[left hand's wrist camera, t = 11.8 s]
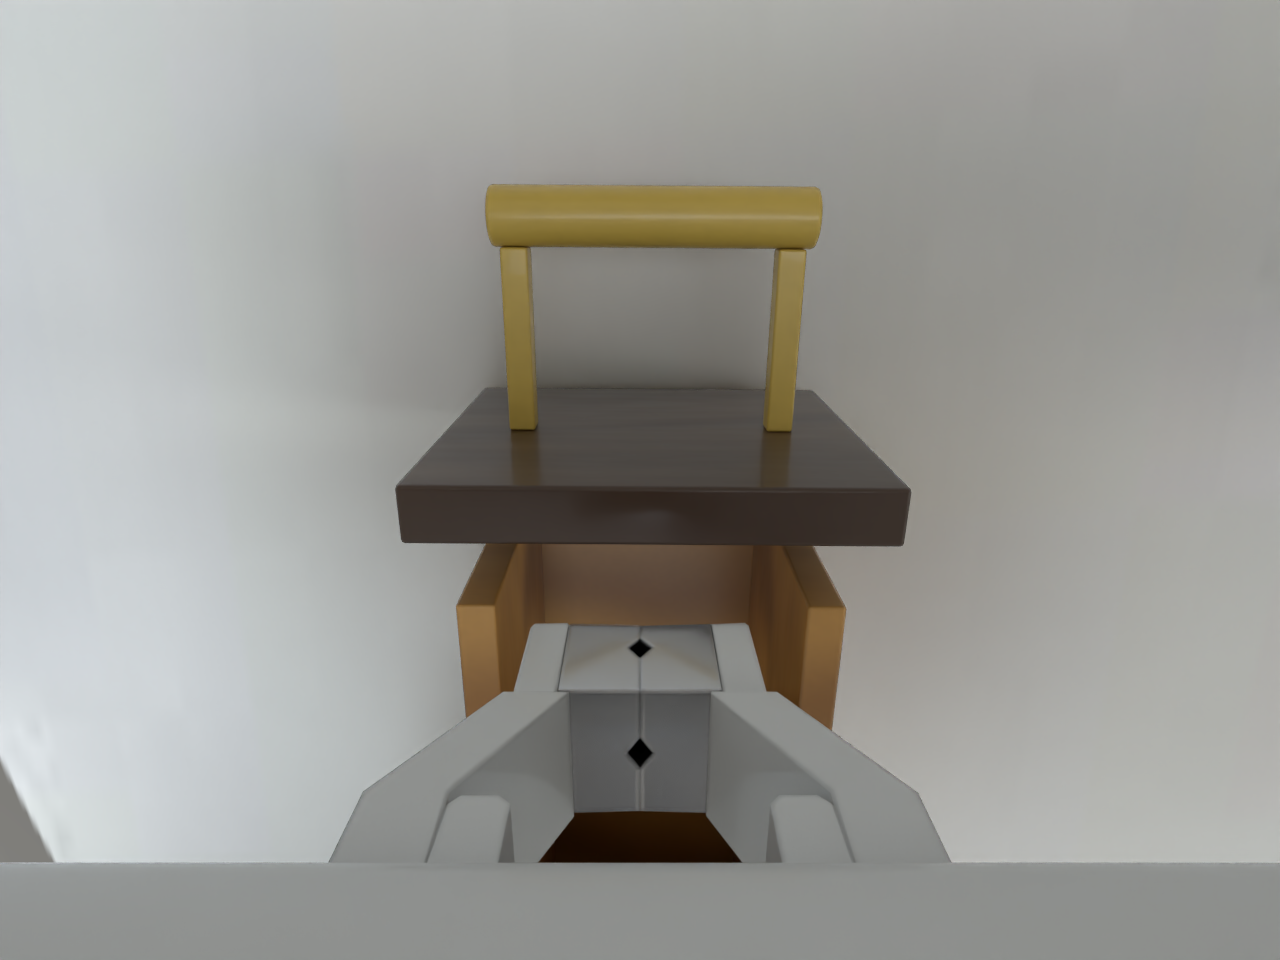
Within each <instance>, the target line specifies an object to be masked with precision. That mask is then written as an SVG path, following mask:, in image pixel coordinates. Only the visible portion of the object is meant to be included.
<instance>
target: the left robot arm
mask: <svg viewBox="0 0 1280 960" xmlns="http://www.w3.org/2000/svg"><path fill="white" fill-rule="evenodd" d="M619 811H660V812H696V813H706V816H707V818H708V819H709V820H710V822H711V823H712V824H713V825H714V827H715V828H716V829H717V831H718V832H719V833H720V834H721V836H722V837H723V838H724V840H725V841H726V842H727V843H728V845H729V846H730V847H731V849H732V850H733V851H734V852H735V854H736V855H737V856H738V858H739V859H740V860H741V861H742V863H538V862H539V861H540V859H541V858H542V857H543V856H544V854H545V853H546V852H547V850H548V849H549V848H550V847H551V845H552V844H553V843H554V842H555V840H556V839H557V838H558V836H559V835H560V834H561V833H562V831H563V830H564V829H565V827H566V826H567V825H568V824H569V822H570V821H571V820H572V819H573V817H574V813H584V812H619ZM0 960H1280V863H952V862H951V860H950V858H949V856H948V854H947V852H946V850H945V848H944V846H943V844H942V842H941V840H940V838H939V835H938V833H937V831H936V829H935V827H934V825H933V823H932V821H931V819H930V817H929V815H928V813H927V811H926V808H925V806H924V804H923V802H922V800H921V798H920V796H919V794H918V793H917V792H916V791H915V790H913V789H912V788H910V787H909V786H908V785H906V784H905V783H903V782H902V781H901V780H899V779H898V778H896V777H895V776H894V775H892V774H891V773H890V772H888V771H887V770H885V769H884V768H883V767H881V766H880V765H878V764H877V763H876V762H874V761H873V760H871V759H870V758H869V757H867V756H866V755H864V754H863V753H862V752H860V751H859V750H857V749H856V748H855V747H853V746H852V745H850V744H849V743H848V742H846V741H845V740H844V739H842V738H841V737H839V736H838V735H837V734H835V733H834V732H832V731H831V730H830V729H828V728H827V727H825V726H824V725H823V724H821V723H820V722H818V721H817V720H816V719H814V718H813V717H811V716H810V715H809V714H807V713H806V712H804V711H803V710H802V709H800V708H799V707H798V706H796V705H795V704H793V703H792V702H791V701H789V700H788V699H786V698H785V697H784V696H782V695H781V694H779V693H778V692H766V688H765V684H764V681H763V677H762V673H761V670H760V666H759V662H758V658H757V655H756V651H755V647H754V644H753V640H752V636H751V633H750V629H749V626H748V625H747V624H746V623H727V624H691V625H651V626H640V625H616V624H570V625H569V624H568V623H541V624H534V625H533V626H532V627H531V628H530V632H529V636H528V639H527V643H526V647H525V651H524V654H523V658H522V662H521V665H520V669H519V673H518V677H517V680H516V684H515V688H514V692H502V693H501V694H499V695H498V696H496V697H495V698H494V699H492V700H491V701H489V702H488V703H487V704H485V705H484V706H482V707H481V708H480V709H478V710H477V711H475V712H474V713H473V714H471V715H470V716H468V717H467V718H466V719H464V720H463V721H461V722H460V723H459V724H457V725H456V726H454V727H453V728H452V729H450V730H449V731H447V732H446V733H445V734H443V735H442V736H440V737H439V738H438V739H436V740H435V741H433V742H432V743H431V744H429V745H428V746H426V747H425V748H424V749H422V750H421V751H419V752H418V753H417V754H415V755H414V756H412V757H411V758H410V759H408V760H407V761H405V762H404V763H403V764H401V765H400V766H398V767H397V768H396V769H394V770H393V771H391V772H390V773H389V774H387V775H386V776H384V777H383V778H382V779H380V780H379V781H377V782H376V783H375V784H373V785H372V786H370V787H369V788H368V789H366V790H365V791H363V793H362V795H361V797H360V799H359V801H358V803H357V805H356V807H355V809H354V811H353V813H352V815H351V817H350V819H349V821H348V823H347V826H346V828H345V830H344V832H343V834H342V836H341V838H340V840H339V842H338V844H337V846H336V848H335V850H334V852H333V854H332V856H331V858H330V860H329V862H328V863H0Z"/></svg>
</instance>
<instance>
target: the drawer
mask: <svg viewBox="0 0 1280 960" xmlns="http://www.w3.org/2000/svg"><path fill="white" fill-rule="evenodd" d="M822 211H823V205H822V196H821V192H820V189H819V188H817V187H783V186H655V185H527V184H492V185H490V186H488V189H487V192H486V199H485V216H486V226H487V232H488V236H489V239H490V242H491V244H492V245H493V246H496V247H501V248H500V264H501V282H502V299H503V317H504V335H505V352H506V370H507V388H485V389H484V390H483V391H482V392H481V393H480V394H479V396H478V397H477V398H476V399H475V400H474V401H473V402H472V403H471V404H470V405H469V406H468V408H467V409H466V410H465V411H464V412H463V413H462V414H461V415H460V416H459V417H458V419H457V420H456V421H455V422H454V423H453V424H452V425H451V426H450V427H449V428H448V429H447V431H446V432H445V433H444V434H443V435H442V436H441V437H440V438H439V439H438V440H437V441H436V443H435V444H434V445H433V446H432V447H431V448H430V449H429V450H428V451H427V452H426V454H425V455H424V456H423V457H422V458H421V459H420V460H419V461H418V462H417V463H416V464H415V466H414V467H413V468H412V469H411V470H410V471H409V472H408V473H407V474H406V475H405V477H404V478H403V479H402V480H401V481H400V482H399V483H398V484H397V485H396V488H395V490H396V499H397V508H398V516H399V525H400V534H401V540H402V542H404V543H484V544H485V546H484V548H483V550H482V552H481V554H480V557H479V559H478V561H477V563H476V565H475V567H474V569H473V571H472V573H471V575H470V578H469V580H468V582H467V584H466V586H465V588H464V590H463V592H462V594H461V596H460V599H459V601H458V603H457V605H456V613H457V624H458V635H459V646H460V657H461V668H462V679H463V690H464V701H465V712H466V718H467V717H468V716H470V715H471V714H473V713H474V712H475V711H477V710H478V709H480V708H481V707H482V706H484V705H485V704H487V703H488V702H489V701H491V700H492V699H494V698H495V697H496V696H498V695H499V694H501V693H502V692H514V688H515V684H516V680H517V677H518V673H519V669H520V665H521V662H522V658H523V654H524V651H525V647H526V643H527V639H528V636H529V632H530V628H531V627H532V626H533V625H534V624H541V623H568V624H569V625H570V624H616V625H640V626H651V625H691V624H727V623H746V624H747V625H748V626H749V629H750V633H751V636H752V640H753V644H754V647H755V651H756V655H757V658H758V662H759V666H760V670H761V673H762V677H763V681H764V684H765V688H766V692H778V693H779V694H781V695H782V696H784V697H785V698H786V699H788V700H789V701H791V702H792V703H793V704H795V705H796V706H798V707H799V708H800V709H802V710H803V711H804V712H806V713H807V714H809V715H810V716H811V717H813V718H814V719H816V720H817V721H818V722H820V723H821V724H823V725H824V726H825V727H827V728H828V729H830V730H831V731H832V725H833V716H834V708H835V700H836V691H837V683H838V675H839V666H840V658H841V650H842V641H843V633H844V624H845V616H846V607H845V605H844V603H843V602H842V600H841V598H840V596H839V594H838V592H837V590H836V588H835V586H834V584H833V583H832V581H831V579H830V577H829V575H828V573H827V571H826V569H825V567H824V565H823V564H822V562H821V560H820V558H819V556H818V554H817V552H816V550H815V548H814V546H903V544H904V539H905V532H906V525H907V518H908V511H909V504H910V497H911V490H910V488H909V487H908V486H907V485H906V484H905V483H904V482H903V481H902V480H901V479H900V478H899V477H898V476H897V475H896V474H895V473H894V472H893V471H892V470H891V469H890V468H889V467H888V466H887V465H886V464H885V463H884V462H883V461H882V460H881V459H880V458H879V457H878V456H877V455H876V454H875V453H874V452H873V451H872V450H871V449H870V448H869V447H868V446H867V445H866V444H865V443H864V442H863V441H862V440H861V439H860V438H859V437H858V436H857V435H856V434H855V433H854V432H853V431H852V430H851V429H850V428H849V427H848V426H847V425H846V424H845V423H844V422H843V421H842V420H841V419H840V418H839V417H838V416H837V415H836V414H835V413H834V412H833V411H832V410H831V409H830V408H829V407H828V406H827V405H826V404H825V403H824V402H823V401H822V400H821V399H820V398H819V397H818V396H817V395H816V394H815V393H814V392H813V391H811V390H795V386H796V374H797V362H798V350H799V337H800V325H801V313H802V301H803V289H804V277H805V264H806V250H804V249H811V248H814V247H815V245H816V243H817V241H818V238H819V234H820V230H821V224H822ZM530 247H604V248H734V249H776V250H775V254H774V269H773V284H772V299H771V313H770V328H769V343H768V358H767V372H766V387H765V390H709V389H573V388H537V383H536V359H535V336H534V312H533V288H532V265H531V248H530ZM538 863H742V861H741V860H740V859H739V858H738V856H737V855H736V854H735V852H734V851H733V850H732V849H731V847H730V846H729V845H728V843H727V842H726V841H725V840H724V838H723V837H722V836H721V834H720V833H719V832H718V831H717V829H716V828H715V827H714V825H713V824H712V823H711V822H710V820H709V819H708V818H707V816H706V813H696V812H660V811H619V812H584V813H574V817H573V819H572V820H571V821H570V822H569V824H568V825H567V826H566V827H565V829H564V830H563V831H562V833H561V834H560V835H559V836H558V838H557V839H556V840H555V842H554V843H553V844H552V845H551V847H550V848H549V849H548V850H547V852H546V853H545V854H544V856H543V857H542V858H541V859H540V861H539V862H538Z"/></svg>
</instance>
